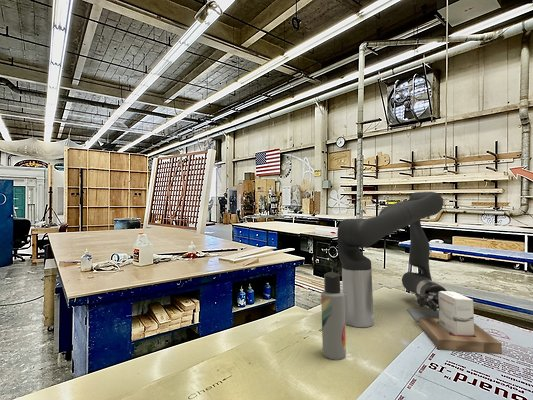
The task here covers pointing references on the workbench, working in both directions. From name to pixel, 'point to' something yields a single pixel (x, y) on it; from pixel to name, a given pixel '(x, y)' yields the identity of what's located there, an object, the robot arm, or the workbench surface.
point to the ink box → (456, 314)
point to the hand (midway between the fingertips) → (452, 308)
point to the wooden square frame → (460, 338)
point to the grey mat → (423, 313)
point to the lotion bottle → (333, 317)
